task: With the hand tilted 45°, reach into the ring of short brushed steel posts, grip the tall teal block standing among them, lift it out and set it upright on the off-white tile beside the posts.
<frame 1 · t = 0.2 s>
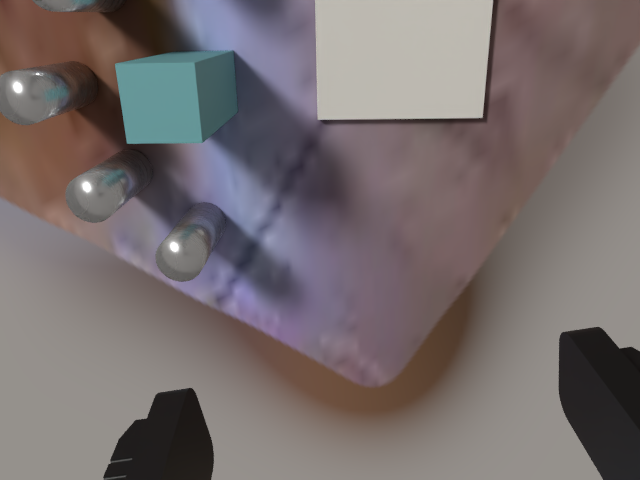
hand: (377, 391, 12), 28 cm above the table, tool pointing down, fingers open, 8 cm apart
teal block: (186, 91, 33), in the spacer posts
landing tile: (401, 31, 36), on the table
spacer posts: (206, 82, 37), on the table
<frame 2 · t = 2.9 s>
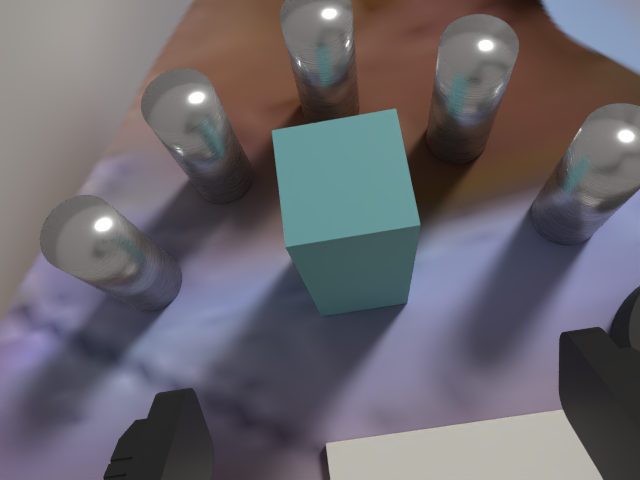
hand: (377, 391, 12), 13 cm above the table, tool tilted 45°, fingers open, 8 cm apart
teal block: (351, 232, 22), in the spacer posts
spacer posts: (357, 268, 26), on the table
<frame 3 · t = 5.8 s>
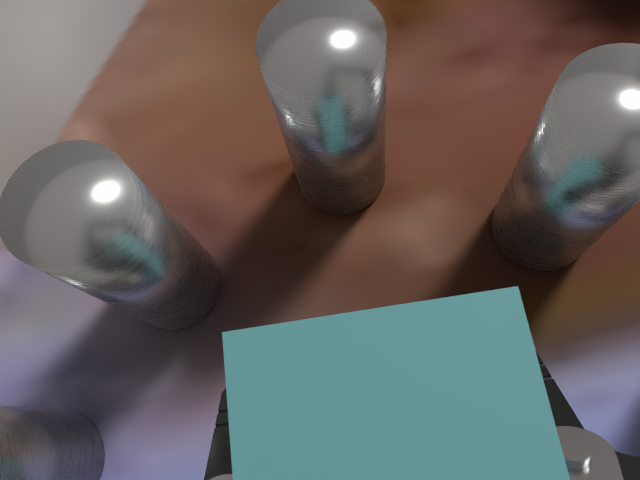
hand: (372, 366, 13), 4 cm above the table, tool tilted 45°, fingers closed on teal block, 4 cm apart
teal block: (389, 456, 11), in the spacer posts, touching gripper
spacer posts: (387, 450, 16), on the table
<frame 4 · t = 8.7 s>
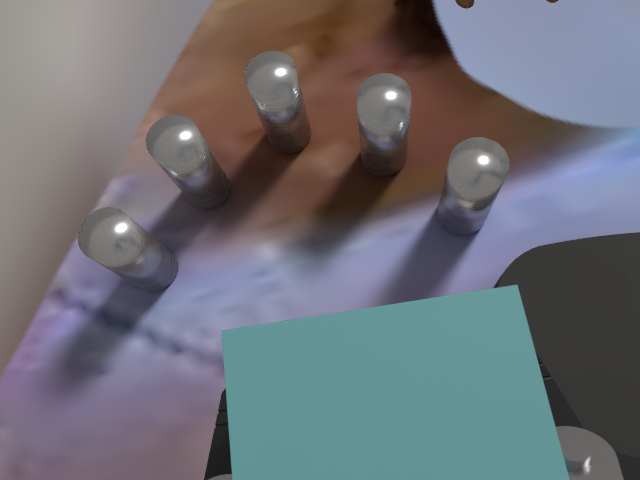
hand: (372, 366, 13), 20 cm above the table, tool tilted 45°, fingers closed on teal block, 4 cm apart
teal block: (389, 455, 11), point 21 cm above the table, touching gripper
media streaming box: (628, 371, 32), on the table
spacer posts: (308, 256, 35), on the table
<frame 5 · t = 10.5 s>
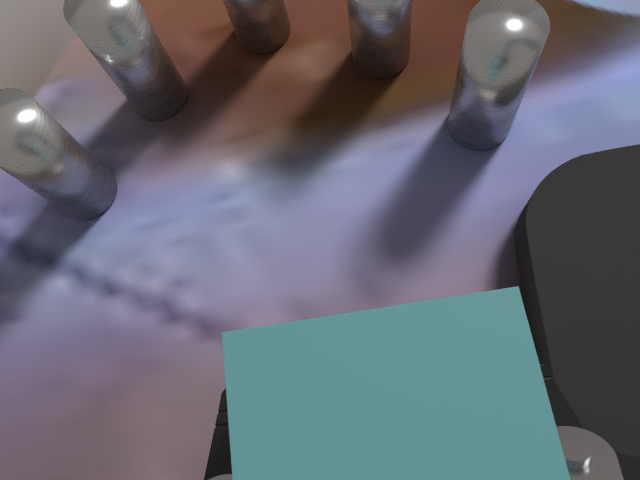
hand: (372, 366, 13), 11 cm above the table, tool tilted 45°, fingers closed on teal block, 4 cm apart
teal block: (389, 457, 11), point 12 cm above the table, touching gripper
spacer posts: (282, 176, 28), on the table
when the fingers open (5 cm above the table, at t = 12.0 s): teal block stays where it is, resting on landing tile.
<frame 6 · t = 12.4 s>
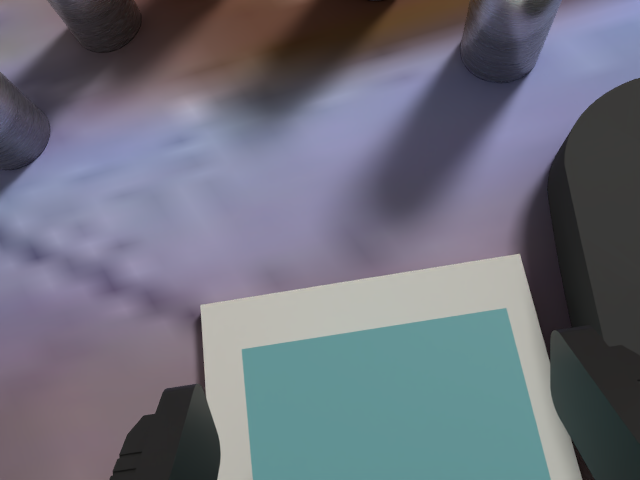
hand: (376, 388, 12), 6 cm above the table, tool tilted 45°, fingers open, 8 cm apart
teal block: (391, 459, 12), on the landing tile
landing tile: (385, 450, 17), on the table
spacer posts: (254, 115, 22), on the table
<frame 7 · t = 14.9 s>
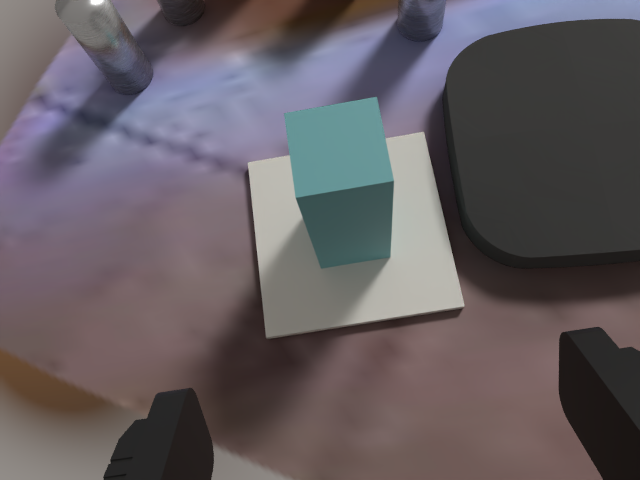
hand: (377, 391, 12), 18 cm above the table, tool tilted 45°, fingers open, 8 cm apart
teal block: (344, 195, 28), on the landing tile
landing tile: (349, 232, 33), on the table
media streaming box: (570, 152, 34), on the table
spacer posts: (275, 61, 37), on the table
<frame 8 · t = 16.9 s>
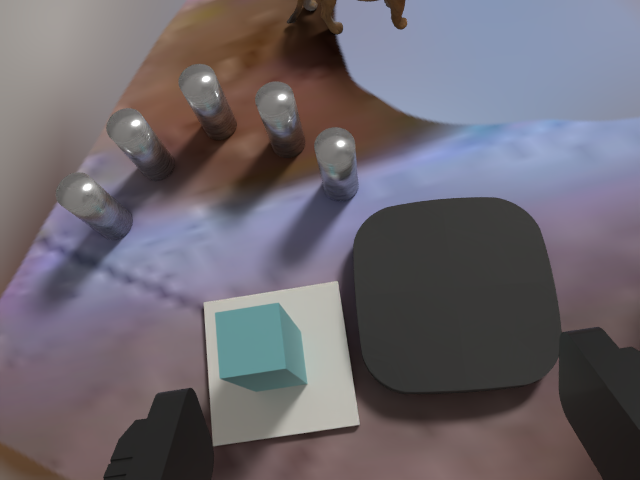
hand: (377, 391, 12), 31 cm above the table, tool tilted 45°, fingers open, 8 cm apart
teal block: (265, 351, 38), on the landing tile
lion figurine: (367, 13, 54), on the table
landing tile: (278, 361, 43), on the table
media streaming box: (448, 298, 44), on the table
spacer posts: (228, 215, 48), on the table
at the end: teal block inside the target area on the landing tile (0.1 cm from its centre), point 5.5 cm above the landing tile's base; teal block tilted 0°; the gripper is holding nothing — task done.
